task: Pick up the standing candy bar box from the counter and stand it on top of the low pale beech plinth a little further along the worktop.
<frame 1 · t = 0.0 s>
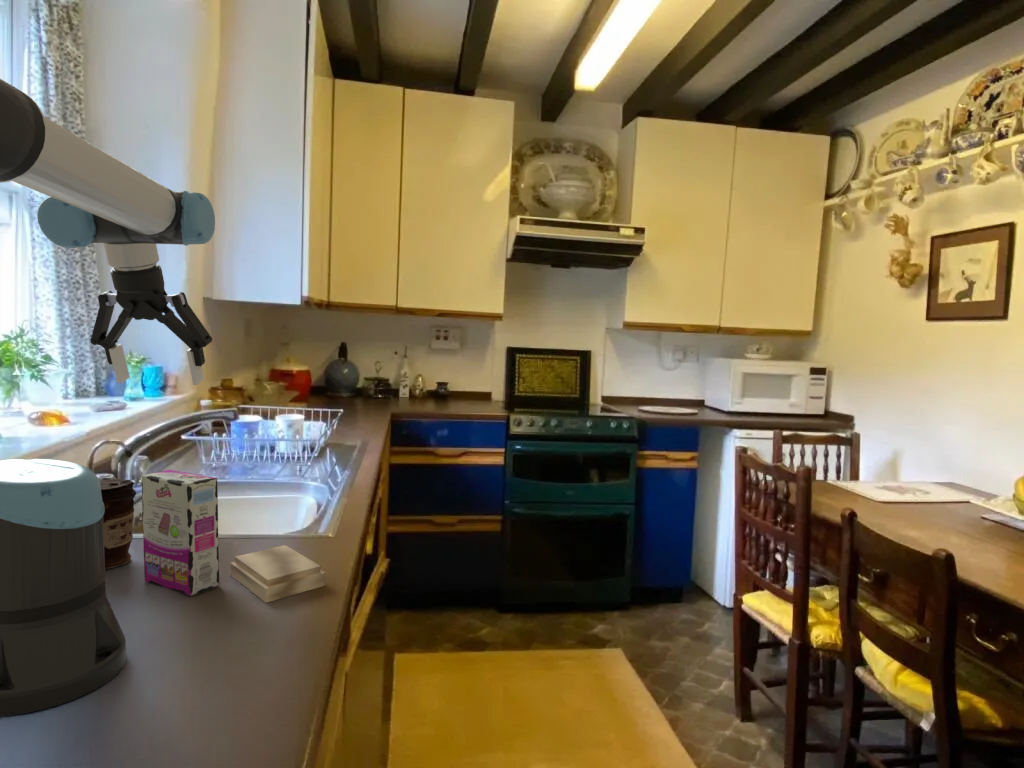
hand: (161, 381, 117), 28 cm above the countertop, tool tilted 20°, fingers open, 13 cm apart
plinth: (277, 580, 98), on the countertop
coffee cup: (109, 564, 103), on the countertop
candy bar box: (182, 585, 96), on the countertop
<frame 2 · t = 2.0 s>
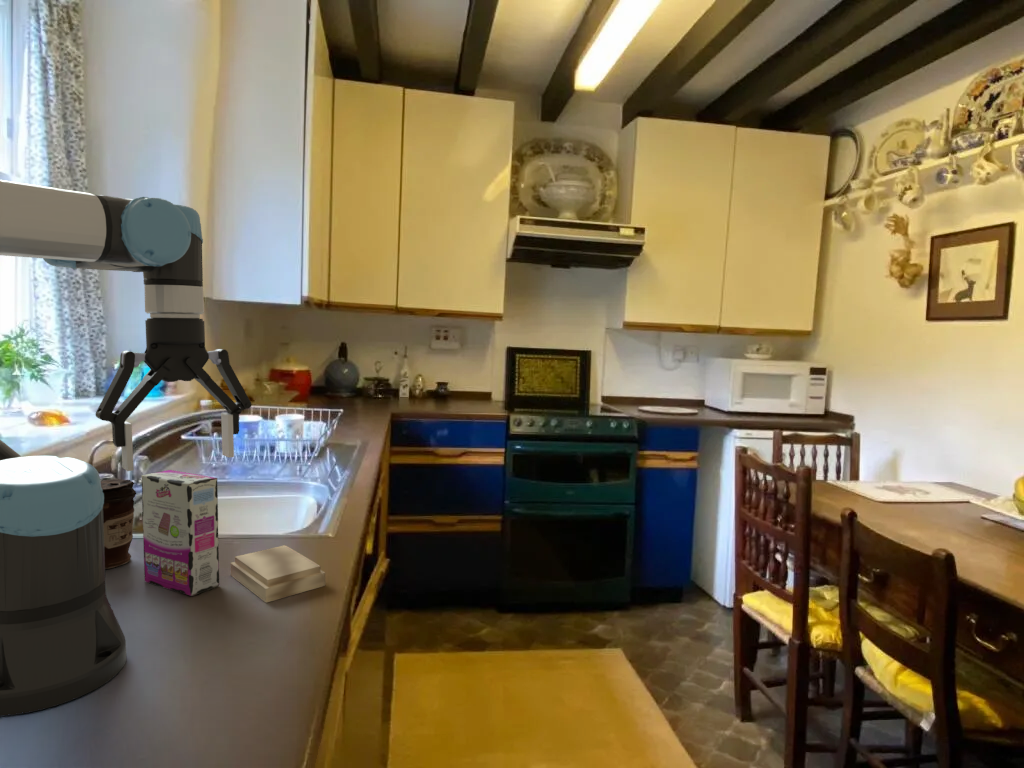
hand: (180, 462, 95), 18 cm above the countertop, tool pointing down, fingers open, 13 cm apart
nothing on the countertop moved.
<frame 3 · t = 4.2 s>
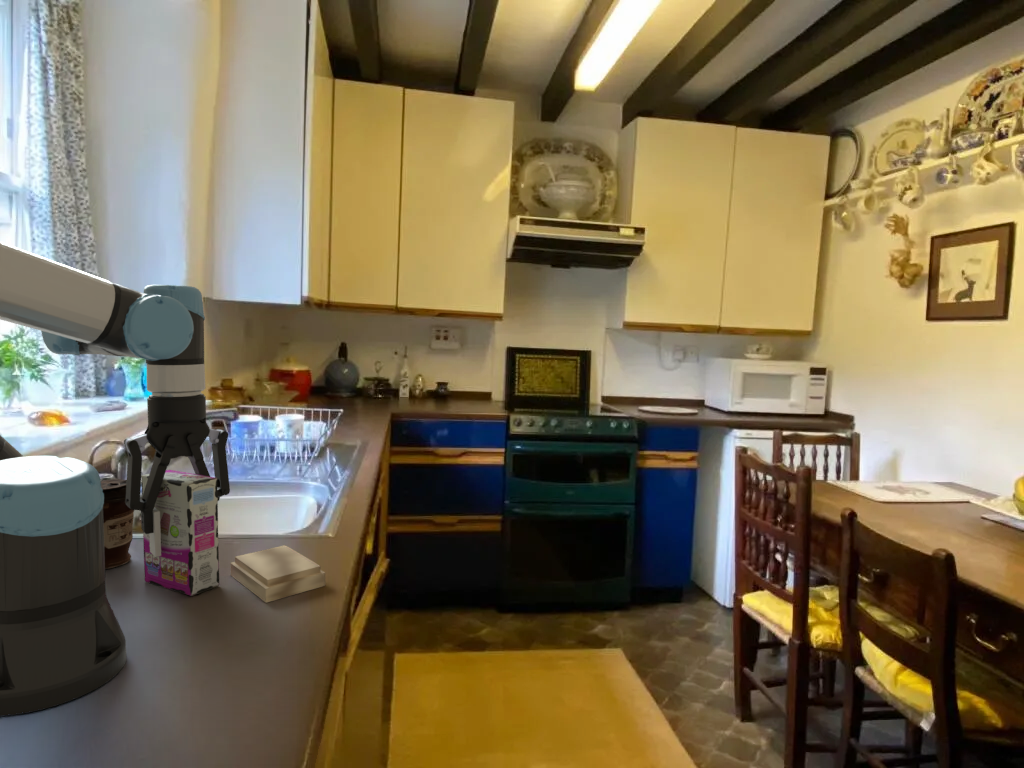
hand: (181, 548, 96), 5 cm above the countertop, tool pointing down, fingers closed on candy bar box, 6 cm apart
candy bar box: (182, 585, 96), on the countertop, touching gripper
everything else where it was.
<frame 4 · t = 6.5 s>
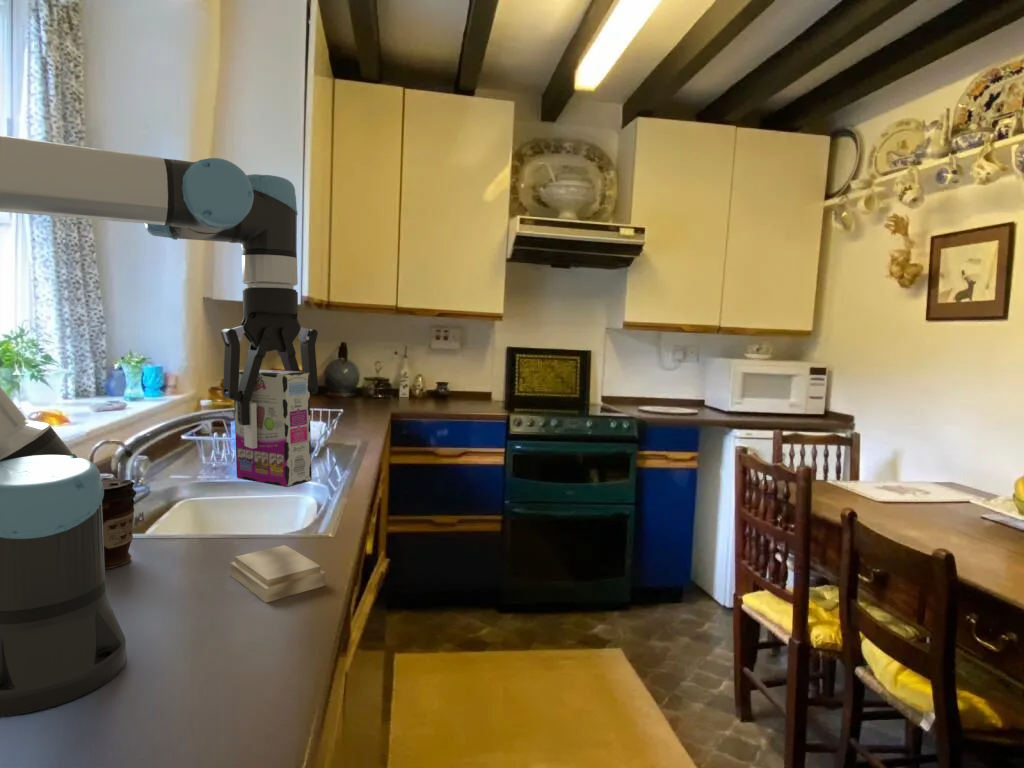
hand: (273, 443, 96), 21 cm above the countertop, tool pointing down, fingers closed on candy bar box, 6 cm apart
candy bar box: (274, 481, 97), point 15 cm above the countertop, touching gripper
everything else where it was.
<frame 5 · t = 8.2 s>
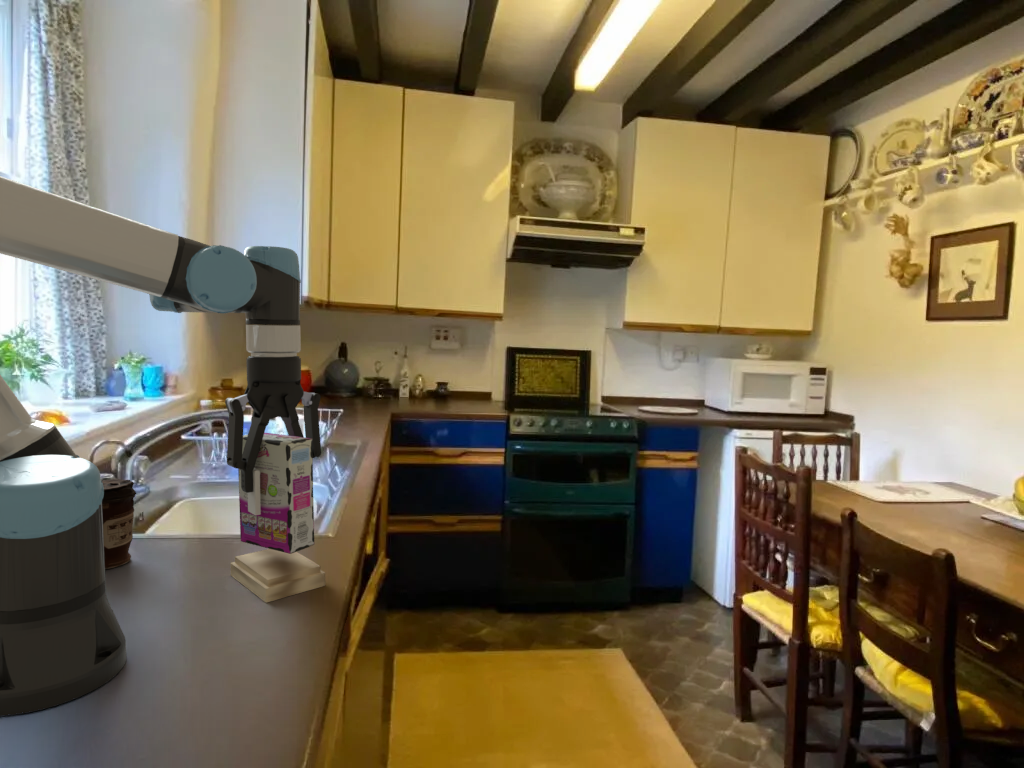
hand: (276, 508, 97), 11 cm above the countertop, tool pointing down, fingers closed on candy bar box, 6 cm apart
candy bar box: (277, 544, 98), point 6 cm above the countertop, touching gripper
everything else where it was.
when the fingers open (10 cm above the countertop, at t = 9.3 s): candy bar box drops 1 cm, resting on plinth.
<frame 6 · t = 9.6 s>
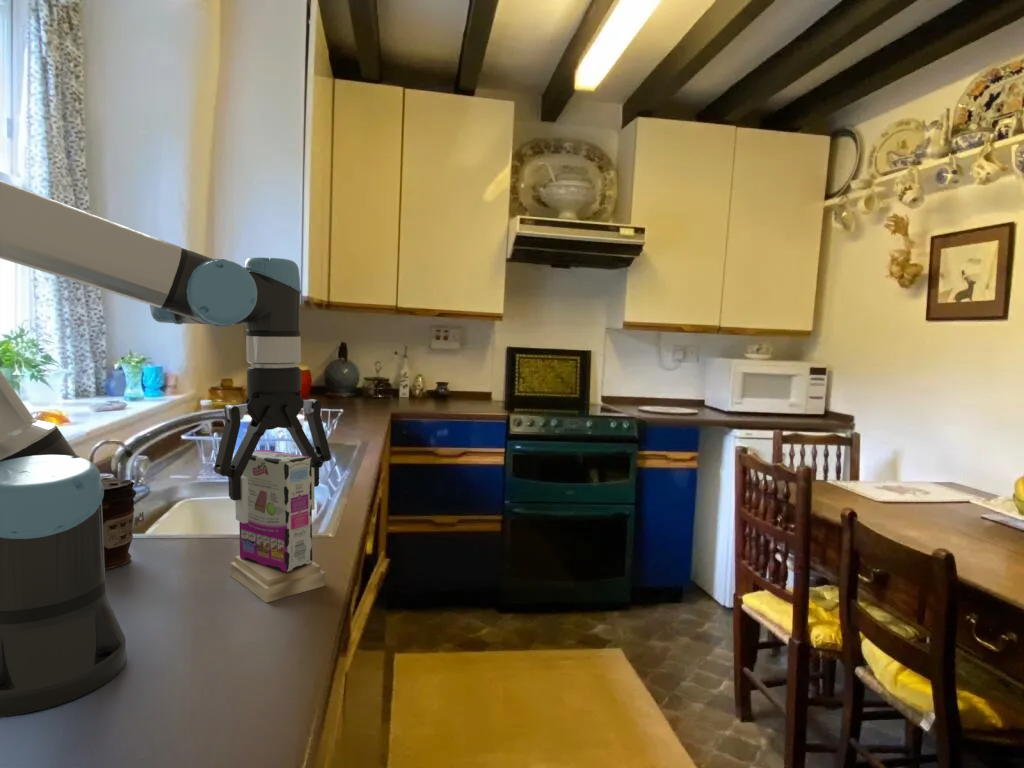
hand: (276, 514, 97), 10 cm above the countertop, tool pointing down, fingers open, 9 cm apart
candy bar box: (276, 562, 98), point 3 cm above the countertop, touching plinth
everything else where it was.
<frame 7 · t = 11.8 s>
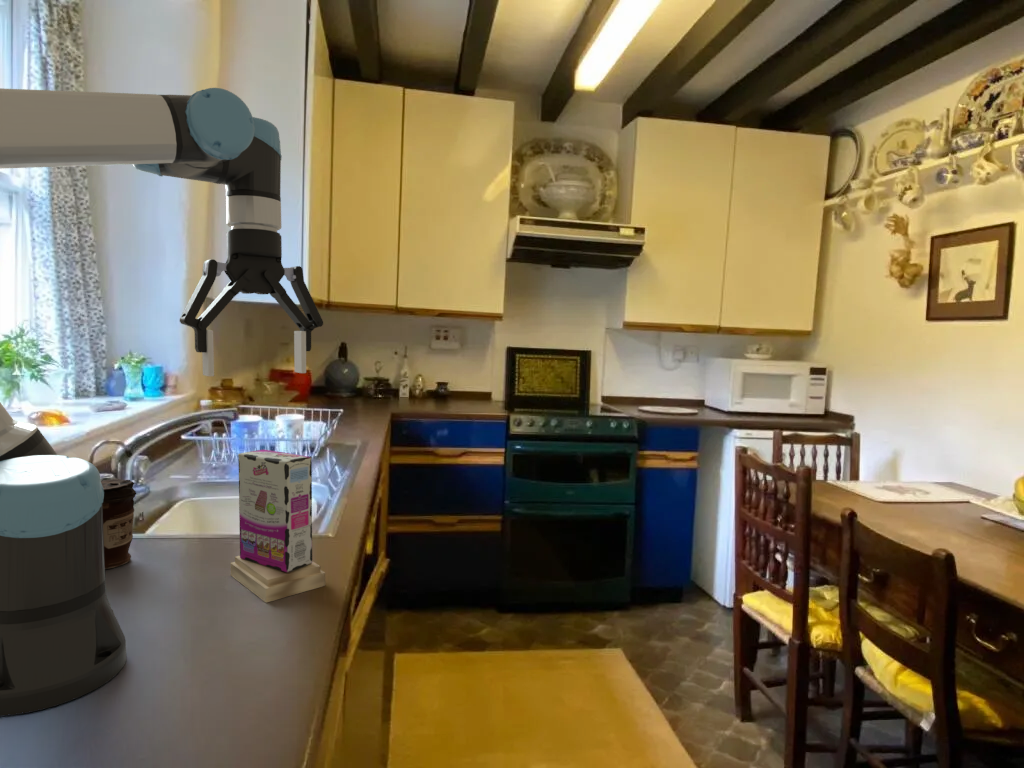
hand: (256, 374, 97), 31 cm above the countertop, tool pointing down, fingers open, 13 cm apart
nothing on the countertop moved.
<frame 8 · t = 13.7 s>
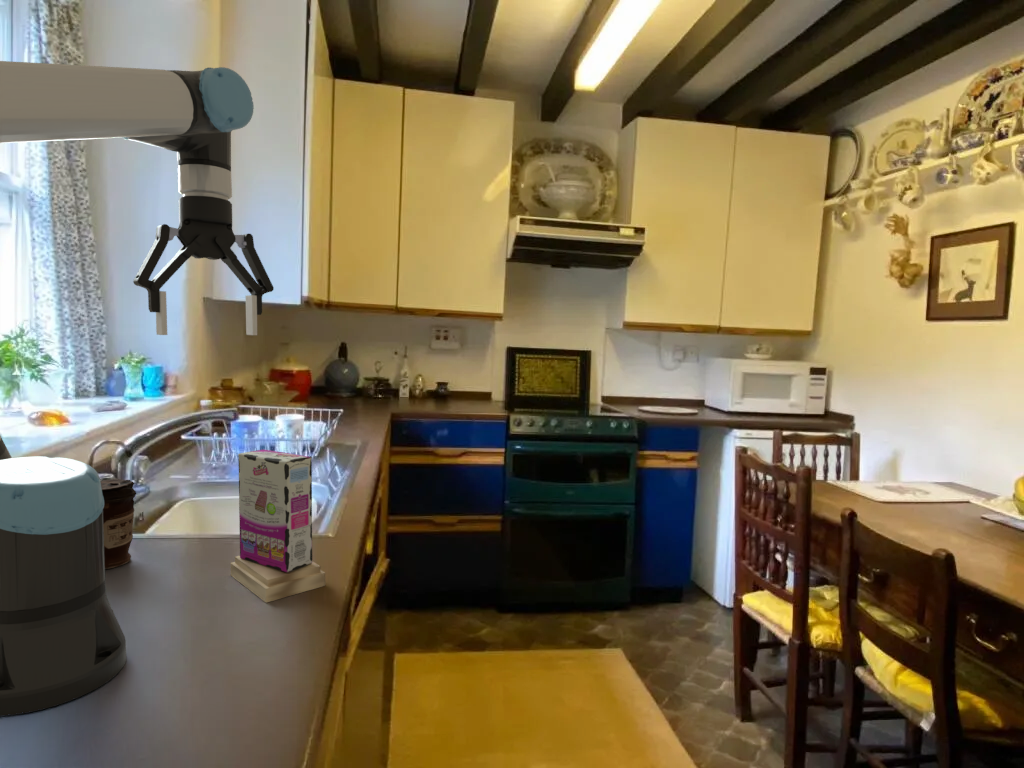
hand: (208, 335, 102), 37 cm above the countertop, tool pointing down, fingers open, 13 cm apart
nothing on the countertop moved.
at the end: candy bar box 0.1 cm from the plinth (horizontally); candy bar box point 2.8 cm above the countertop; candy bar box tilted 0° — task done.
